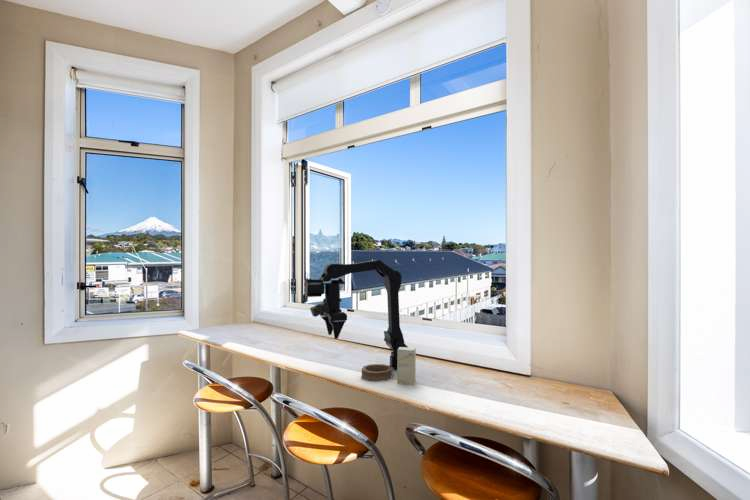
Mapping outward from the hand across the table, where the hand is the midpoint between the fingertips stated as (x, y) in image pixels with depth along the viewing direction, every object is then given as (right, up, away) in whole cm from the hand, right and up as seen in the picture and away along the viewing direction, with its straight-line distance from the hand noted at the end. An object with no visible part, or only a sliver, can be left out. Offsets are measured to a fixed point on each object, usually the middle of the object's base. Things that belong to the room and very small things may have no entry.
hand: (332, 336), depth 141 cm
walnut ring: (+17, -15, -2) cm, 22 cm away
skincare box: (+28, -14, -10) cm, 32 cm away
